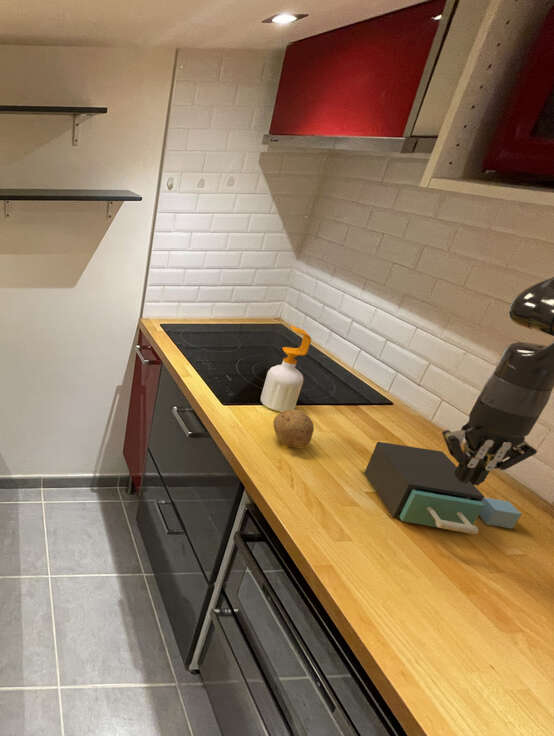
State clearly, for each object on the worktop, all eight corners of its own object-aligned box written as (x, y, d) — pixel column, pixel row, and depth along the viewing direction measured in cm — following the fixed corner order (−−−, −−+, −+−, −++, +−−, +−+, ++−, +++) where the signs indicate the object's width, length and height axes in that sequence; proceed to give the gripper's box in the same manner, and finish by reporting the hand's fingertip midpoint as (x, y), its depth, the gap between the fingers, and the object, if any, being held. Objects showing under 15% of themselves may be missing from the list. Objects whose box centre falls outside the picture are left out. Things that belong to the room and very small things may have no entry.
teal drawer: (484, 553, 84) (502, 525, 81) (414, 540, 87) (429, 512, 84) (431, 487, 100) (445, 462, 97) (373, 478, 102) (384, 452, 99)
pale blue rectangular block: (500, 515, 94) (509, 501, 92) (512, 528, 91) (521, 514, 89) (475, 511, 95) (483, 497, 93) (486, 524, 92) (495, 509, 90)
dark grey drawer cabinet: (464, 530, 90) (484, 496, 86) (392, 517, 93) (409, 483, 89) (426, 483, 103) (442, 451, 99) (364, 472, 105) (377, 441, 102)
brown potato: (274, 429, 121) (284, 397, 117) (311, 443, 115) (323, 411, 111) (263, 444, 115) (273, 411, 111) (302, 460, 109) (314, 426, 105)
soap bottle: (256, 394, 137) (276, 320, 127) (288, 398, 135) (311, 323, 125) (264, 410, 129) (287, 333, 119) (298, 414, 127) (324, 336, 117)
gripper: (541, 397, 78) (496, 474, 85) (449, 386, 81) (413, 461, 88) (578, 421, 71) (525, 503, 78) (476, 408, 74) (435, 488, 81)
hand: (466, 481), depth 83 cm, fingers closed
